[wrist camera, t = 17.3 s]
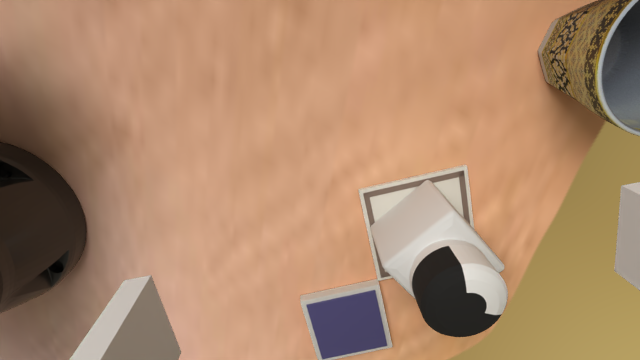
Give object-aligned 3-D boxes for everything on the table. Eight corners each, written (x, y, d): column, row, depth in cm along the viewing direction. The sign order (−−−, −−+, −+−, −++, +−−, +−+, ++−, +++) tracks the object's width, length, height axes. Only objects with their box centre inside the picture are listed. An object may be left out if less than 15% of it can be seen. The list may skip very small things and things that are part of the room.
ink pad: (318, 355, 44) (318, 364, 43) (300, 295, 41) (300, 302, 40) (390, 340, 44) (393, 348, 43) (377, 278, 41) (379, 285, 40)
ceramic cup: (496, 87, 35) (566, 108, 25) (556, -37, 32) (662, -64, 22) (623, 135, 37) (731, 172, 27) (692, 23, 34) (842, 21, 24)
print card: (377, 278, 41) (378, 281, 41) (358, 188, 38) (358, 191, 37) (476, 257, 41) (478, 260, 40) (465, 164, 37) (467, 166, 37)
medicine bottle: (414, 272, 40) (456, 367, 29) (368, 226, 38) (393, 307, 27) (473, 228, 39) (541, 308, 28) (427, 177, 37) (481, 241, 26)
